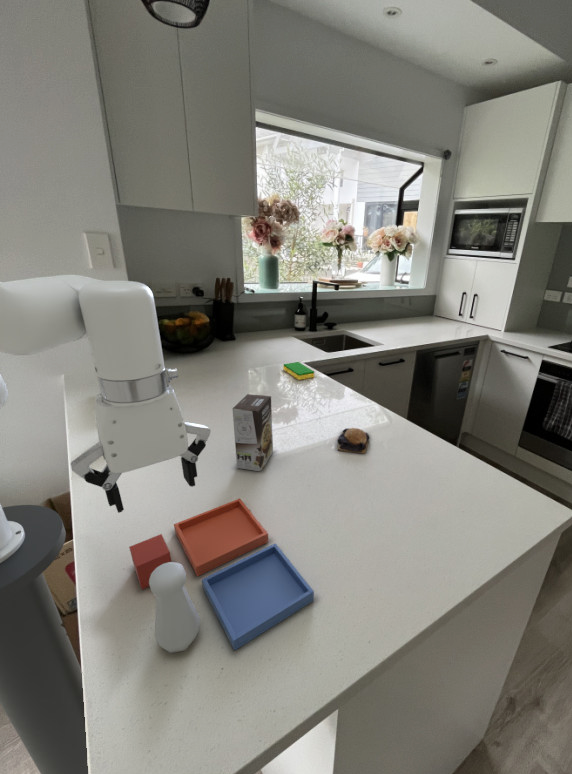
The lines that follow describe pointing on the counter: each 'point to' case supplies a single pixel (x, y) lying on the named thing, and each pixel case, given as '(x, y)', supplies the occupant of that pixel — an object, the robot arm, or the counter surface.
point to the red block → (149, 557)
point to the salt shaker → (173, 608)
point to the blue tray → (256, 594)
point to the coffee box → (253, 431)
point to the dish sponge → (298, 370)
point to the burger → (353, 440)
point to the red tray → (219, 535)
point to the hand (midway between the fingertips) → (156, 493)
